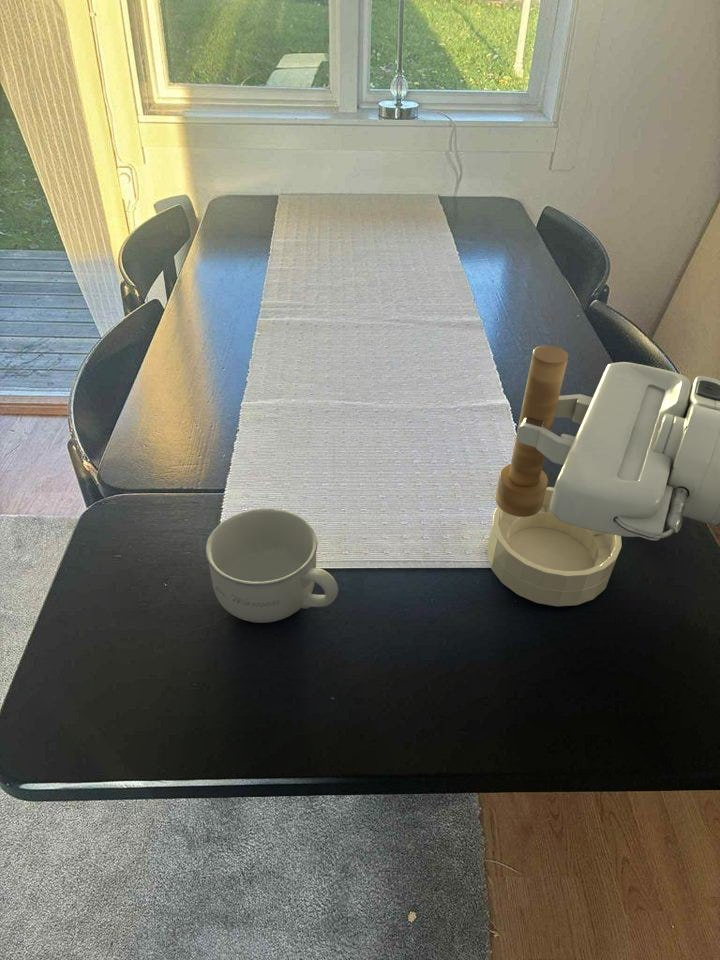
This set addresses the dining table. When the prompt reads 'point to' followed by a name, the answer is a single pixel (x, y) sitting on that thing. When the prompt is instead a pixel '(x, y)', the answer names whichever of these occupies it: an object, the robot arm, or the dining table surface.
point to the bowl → (550, 557)
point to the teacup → (266, 566)
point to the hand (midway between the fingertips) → (526, 415)
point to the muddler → (524, 475)
